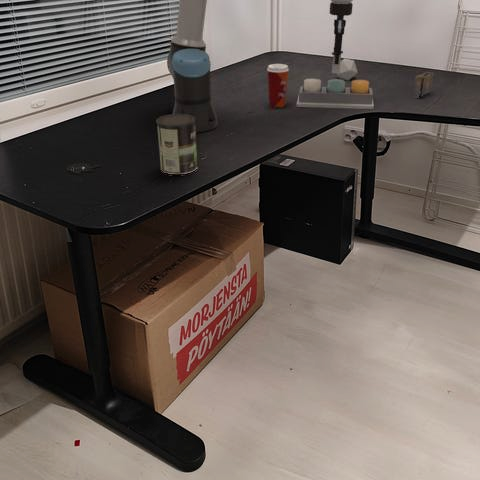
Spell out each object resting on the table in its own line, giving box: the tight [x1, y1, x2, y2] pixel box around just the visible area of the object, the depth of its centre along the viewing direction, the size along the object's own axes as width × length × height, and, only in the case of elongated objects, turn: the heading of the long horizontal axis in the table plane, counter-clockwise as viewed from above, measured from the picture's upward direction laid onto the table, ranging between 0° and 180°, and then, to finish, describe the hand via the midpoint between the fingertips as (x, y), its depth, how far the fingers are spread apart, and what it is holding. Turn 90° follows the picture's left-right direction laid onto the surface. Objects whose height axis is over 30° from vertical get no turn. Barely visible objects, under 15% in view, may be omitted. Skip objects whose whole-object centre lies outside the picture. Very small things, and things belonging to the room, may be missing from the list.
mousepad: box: [66, 162, 102, 175], centre depth 168 cm, size 9×8×1 cm
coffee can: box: [155, 113, 199, 174], centre depth 164 cm, size 10×10×14 cm
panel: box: [296, 85, 375, 110], centre depth 219 cm, size 27×13×4 cm, turn 82°
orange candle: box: [351, 79, 370, 94], centre depth 216 cm, size 6×6×6 cm
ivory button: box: [303, 78, 322, 92], centre depth 219 cm, size 6×6×6 cm
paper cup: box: [266, 63, 290, 108], centre depth 215 cm, size 8×8×14 cm
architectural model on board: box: [412, 71, 434, 97], centre depth 225 cm, size 11×3×10 cm, turn 143°
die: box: [336, 58, 358, 82], centre depth 247 cm, size 8×9×10 cm
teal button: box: [327, 78, 346, 93], centre depth 218 cm, size 6×6×6 cm
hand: (335, 72), depth 215 cm, fingers closed
